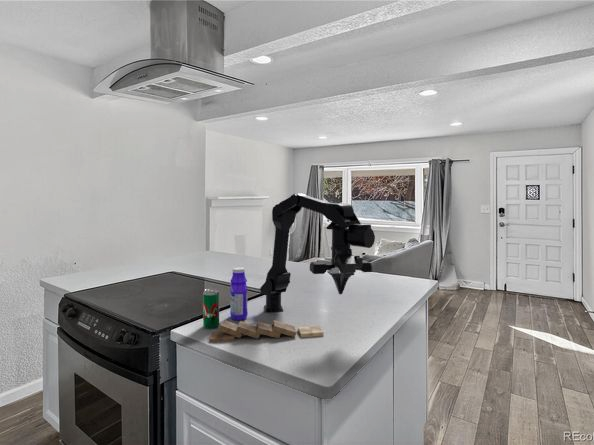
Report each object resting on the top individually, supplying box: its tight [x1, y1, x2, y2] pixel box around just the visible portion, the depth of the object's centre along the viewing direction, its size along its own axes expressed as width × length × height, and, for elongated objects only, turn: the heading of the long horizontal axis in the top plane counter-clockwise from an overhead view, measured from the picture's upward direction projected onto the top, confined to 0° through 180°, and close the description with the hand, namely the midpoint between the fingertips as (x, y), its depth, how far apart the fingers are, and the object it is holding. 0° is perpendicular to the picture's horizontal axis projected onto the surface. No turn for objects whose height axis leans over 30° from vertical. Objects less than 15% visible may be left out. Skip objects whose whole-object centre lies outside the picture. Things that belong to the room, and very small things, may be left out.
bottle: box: [229, 266, 248, 321], centre depth 122 cm, size 7×6×17 cm
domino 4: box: [255, 321, 282, 339], centre depth 107 cm, size 5×2×7 cm
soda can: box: [202, 288, 220, 330], centre depth 114 cm, size 5×5×12 cm
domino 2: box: [217, 319, 244, 339], centre depth 107 cm, size 5×2×7 cm
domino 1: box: [209, 331, 236, 343], centre depth 105 cm, size 5×2×7 cm
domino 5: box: [271, 319, 298, 338], centre depth 108 cm, size 5×2×7 cm
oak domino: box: [297, 326, 324, 338], centre depth 110 cm, size 5×2×7 cm
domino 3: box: [236, 320, 261, 340], centre depth 107 cm, size 5×2×7 cm
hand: (340, 294), depth 110 cm, fingers closed
